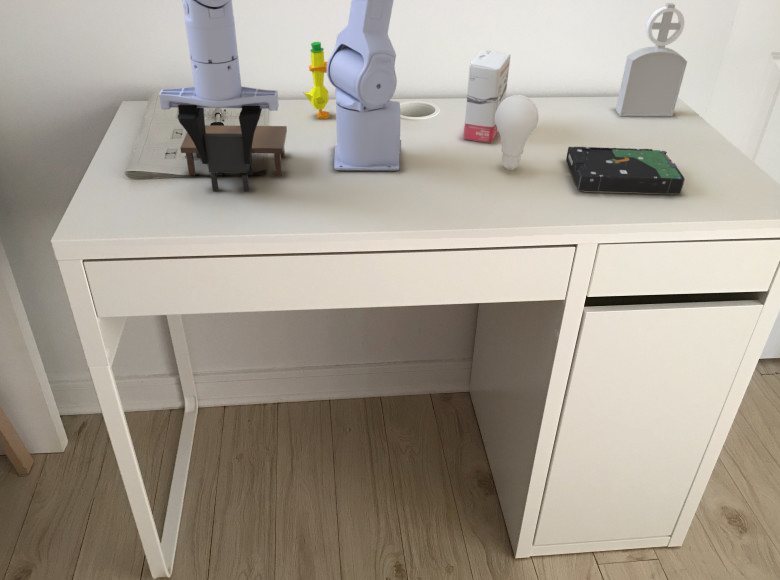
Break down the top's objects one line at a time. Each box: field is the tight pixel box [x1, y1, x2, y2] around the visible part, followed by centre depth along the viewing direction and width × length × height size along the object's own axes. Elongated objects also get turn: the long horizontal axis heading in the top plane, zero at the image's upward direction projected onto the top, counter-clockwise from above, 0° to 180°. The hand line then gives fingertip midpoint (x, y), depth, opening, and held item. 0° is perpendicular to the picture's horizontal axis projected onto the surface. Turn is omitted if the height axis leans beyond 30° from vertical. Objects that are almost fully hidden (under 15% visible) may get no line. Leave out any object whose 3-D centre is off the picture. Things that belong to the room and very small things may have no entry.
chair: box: [204, 133, 254, 192], centre depth 98 cm, size 5×6×8 cm
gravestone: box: [615, 2, 688, 117], centre depth 121 cm, size 3×9×18 cm, turn 94°
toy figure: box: [303, 41, 331, 120], centre depth 117 cm, size 7×4×12 cm, turn 105°
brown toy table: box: [179, 124, 288, 177], centre depth 104 cm, size 14×8×4 cm, turn 93°
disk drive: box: [565, 146, 686, 195], centre depth 105 cm, size 10×3×15 cm
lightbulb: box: [495, 94, 539, 171], centre depth 104 cm, size 6×6×11 cm
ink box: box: [463, 49, 511, 144], centre depth 114 cm, size 9×5×12 cm, turn 161°
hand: (227, 160), depth 96 cm, fingers closed on chair, 5 cm apart
